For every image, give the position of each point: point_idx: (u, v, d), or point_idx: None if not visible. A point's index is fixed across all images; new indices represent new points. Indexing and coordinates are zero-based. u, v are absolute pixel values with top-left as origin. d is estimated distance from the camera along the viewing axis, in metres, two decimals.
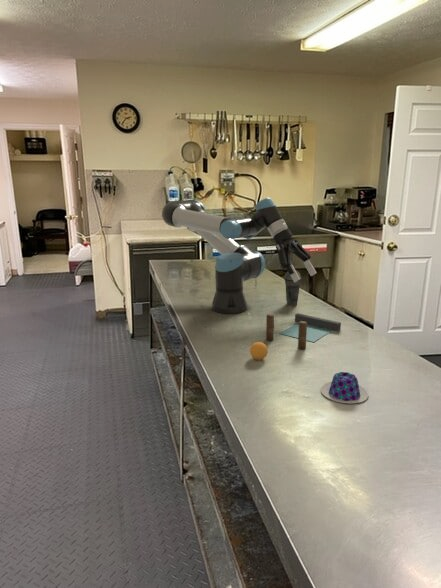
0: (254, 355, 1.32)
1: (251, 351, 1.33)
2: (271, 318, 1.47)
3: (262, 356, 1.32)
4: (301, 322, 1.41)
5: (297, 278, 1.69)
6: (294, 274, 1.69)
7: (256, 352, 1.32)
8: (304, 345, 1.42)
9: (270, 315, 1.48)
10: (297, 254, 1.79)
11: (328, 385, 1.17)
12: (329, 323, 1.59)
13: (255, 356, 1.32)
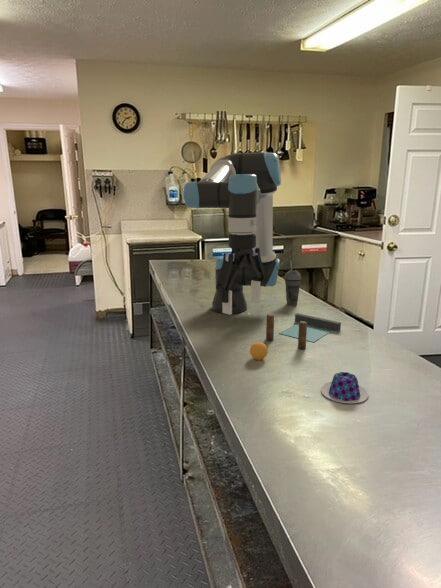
0: (254, 355, 1.32)
1: (251, 351, 1.33)
2: (271, 318, 1.47)
3: (262, 356, 1.32)
4: (301, 322, 1.41)
5: (228, 311, 1.17)
6: (227, 304, 1.16)
7: (256, 352, 1.32)
8: (304, 345, 1.42)
9: (270, 315, 1.48)
10: (249, 269, 1.23)
11: (328, 385, 1.17)
12: (329, 323, 1.59)
13: (255, 356, 1.32)
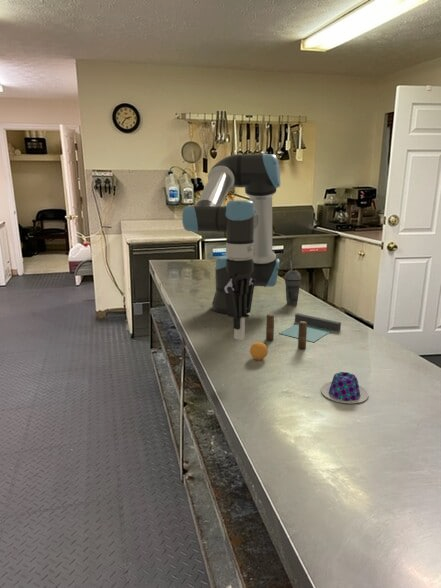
0: (254, 355, 1.32)
1: (251, 351, 1.33)
2: (271, 318, 1.47)
3: (262, 356, 1.32)
4: (301, 322, 1.41)
5: (240, 337, 1.23)
6: (239, 331, 1.23)
7: (256, 352, 1.32)
8: (304, 345, 1.42)
9: (270, 315, 1.48)
10: None
11: (328, 385, 1.17)
12: (329, 323, 1.59)
13: (255, 356, 1.32)
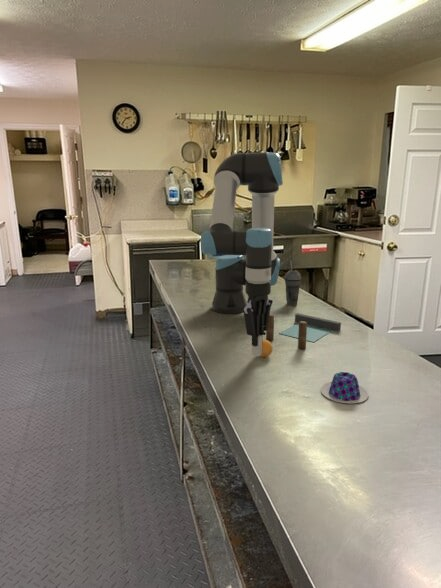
0: None
1: None
2: (271, 318, 1.47)
3: (267, 351, 1.34)
4: (301, 322, 1.41)
5: (257, 353, 1.33)
6: (256, 347, 1.33)
7: (263, 345, 1.34)
8: (304, 345, 1.42)
9: (270, 315, 1.48)
10: None
11: (328, 385, 1.17)
12: (329, 323, 1.59)
13: None
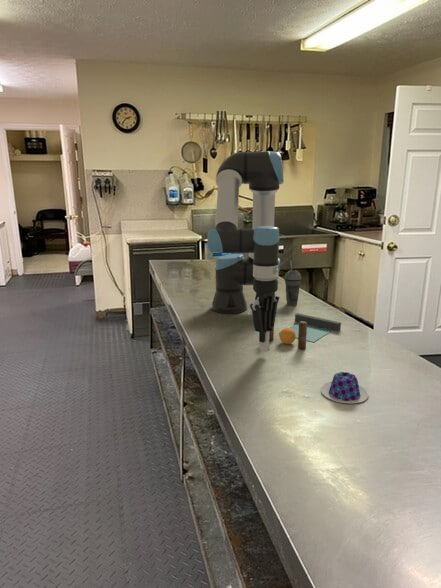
0: (285, 343, 1.46)
1: None
2: None
3: (292, 341, 1.45)
4: (301, 322, 1.41)
5: (264, 349, 1.35)
6: (264, 343, 1.35)
7: (286, 342, 1.45)
8: (304, 345, 1.42)
9: None
10: None
11: (328, 385, 1.17)
12: (329, 323, 1.59)
13: (286, 343, 1.46)
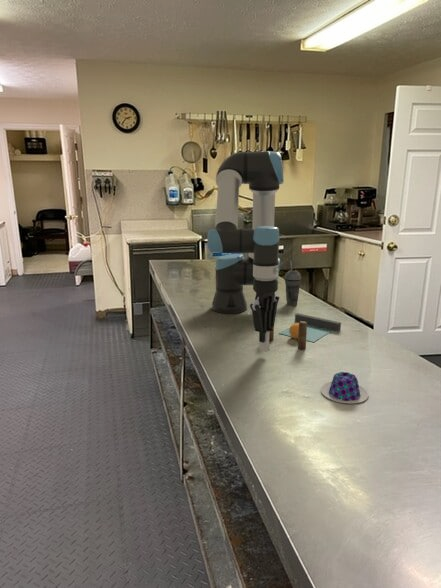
0: (297, 324, 1.50)
1: (295, 323, 1.51)
2: None
3: None
4: (301, 322, 1.41)
5: (264, 349, 1.35)
6: (264, 343, 1.35)
7: None
8: (304, 345, 1.42)
9: None
10: None
11: (328, 385, 1.17)
12: (329, 323, 1.59)
13: (297, 325, 1.49)
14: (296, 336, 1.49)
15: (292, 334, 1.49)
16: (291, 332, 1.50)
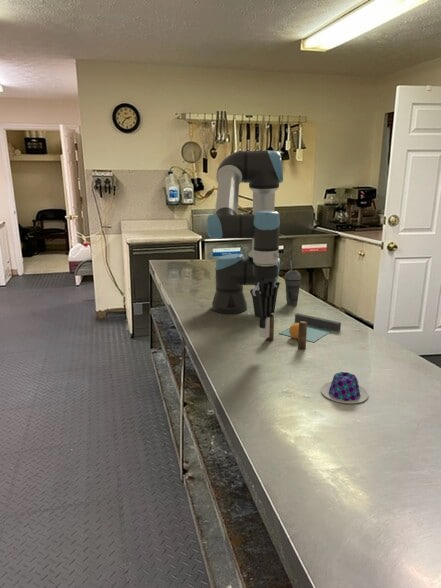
0: (297, 324, 1.50)
1: (295, 323, 1.51)
2: (271, 318, 1.47)
3: None
4: (301, 322, 1.41)
5: (265, 335, 1.35)
6: (264, 329, 1.34)
7: None
8: (304, 345, 1.42)
9: None
10: None
11: (328, 385, 1.17)
12: (329, 323, 1.59)
13: (297, 325, 1.49)
14: (296, 336, 1.49)
15: (292, 334, 1.49)
16: (291, 332, 1.50)
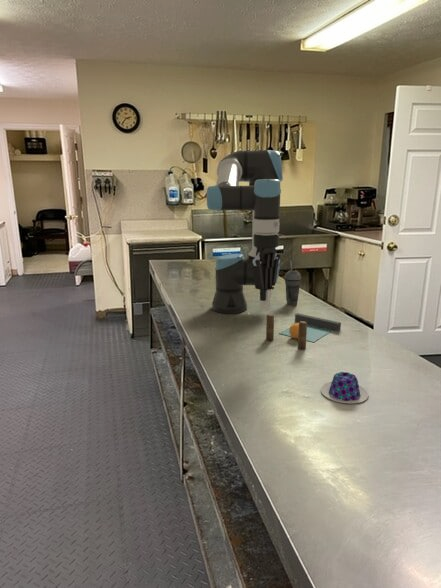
0: (297, 324, 1.50)
1: (295, 323, 1.51)
2: (271, 318, 1.47)
3: None
4: (301, 322, 1.41)
5: (265, 308, 1.32)
6: (265, 302, 1.32)
7: None
8: (304, 345, 1.42)
9: (270, 315, 1.48)
10: None
11: (328, 385, 1.17)
12: (329, 323, 1.59)
13: (297, 325, 1.49)
14: (296, 336, 1.49)
15: (292, 334, 1.49)
16: (291, 332, 1.50)
